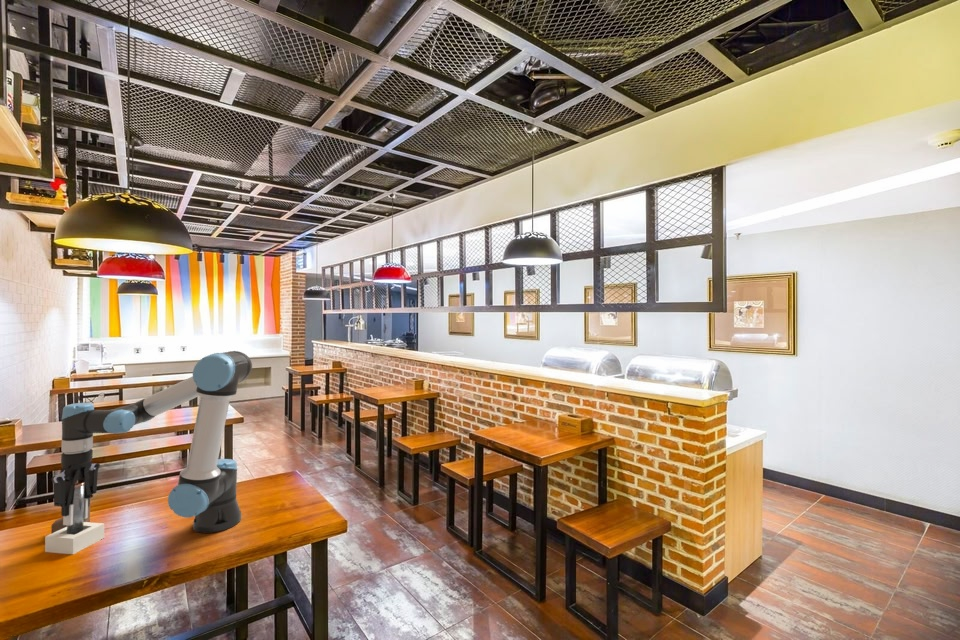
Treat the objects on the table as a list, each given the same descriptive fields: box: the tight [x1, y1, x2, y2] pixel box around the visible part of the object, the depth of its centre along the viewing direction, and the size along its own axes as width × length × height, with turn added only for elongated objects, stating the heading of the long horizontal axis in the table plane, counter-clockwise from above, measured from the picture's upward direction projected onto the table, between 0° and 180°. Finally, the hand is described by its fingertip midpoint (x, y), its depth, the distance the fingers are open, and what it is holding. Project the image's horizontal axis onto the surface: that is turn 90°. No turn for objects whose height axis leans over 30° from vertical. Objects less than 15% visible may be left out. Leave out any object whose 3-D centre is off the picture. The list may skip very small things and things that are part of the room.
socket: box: [44, 521, 105, 555], centre depth 139 cm, size 10×10×5 cm
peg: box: [67, 481, 85, 535], centre depth 139 cm, size 4×4×17 cm
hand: (75, 521), depth 139 cm, fingers closed on peg, 4 cm apart
